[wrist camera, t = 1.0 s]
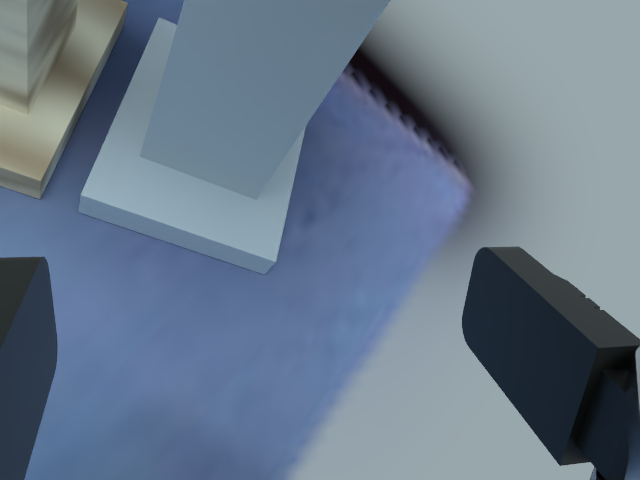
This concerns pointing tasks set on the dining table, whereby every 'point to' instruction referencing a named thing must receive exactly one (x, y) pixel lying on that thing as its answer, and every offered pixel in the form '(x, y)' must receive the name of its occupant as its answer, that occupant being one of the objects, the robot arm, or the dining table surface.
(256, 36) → the tall stand
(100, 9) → the marble stand
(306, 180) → the dining table surface
